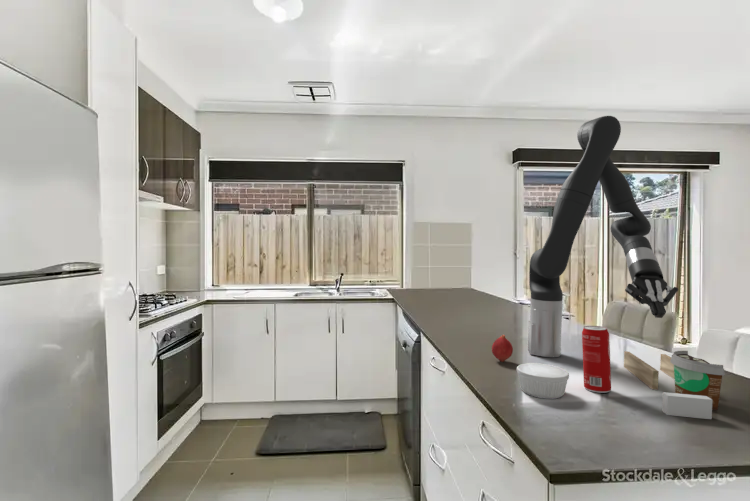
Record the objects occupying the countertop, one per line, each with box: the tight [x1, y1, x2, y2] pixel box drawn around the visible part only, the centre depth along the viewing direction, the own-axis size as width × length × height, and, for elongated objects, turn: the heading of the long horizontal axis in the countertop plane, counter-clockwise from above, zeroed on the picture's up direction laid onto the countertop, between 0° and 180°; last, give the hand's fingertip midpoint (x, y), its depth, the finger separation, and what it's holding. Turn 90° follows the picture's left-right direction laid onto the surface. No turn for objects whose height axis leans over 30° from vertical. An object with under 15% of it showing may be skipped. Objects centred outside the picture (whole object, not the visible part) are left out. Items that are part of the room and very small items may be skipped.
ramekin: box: [516, 362, 570, 400], centre depth 95 cm, size 11×11×5 cm
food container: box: [670, 350, 725, 411], centre depth 92 cm, size 12×6×10 cm, turn 174°
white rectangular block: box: [661, 391, 713, 420], centre depth 84 cm, size 8×2×4 cm, turn 78°
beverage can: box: [581, 325, 612, 394], centre depth 97 cm, size 6×6×15 cm
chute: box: [623, 350, 675, 391], centre depth 106 cm, size 10×18×4 cm, turn 168°
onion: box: [491, 334, 514, 363], centre depth 118 cm, size 6×6×8 cm
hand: (660, 316), depth 106 cm, fingers closed
